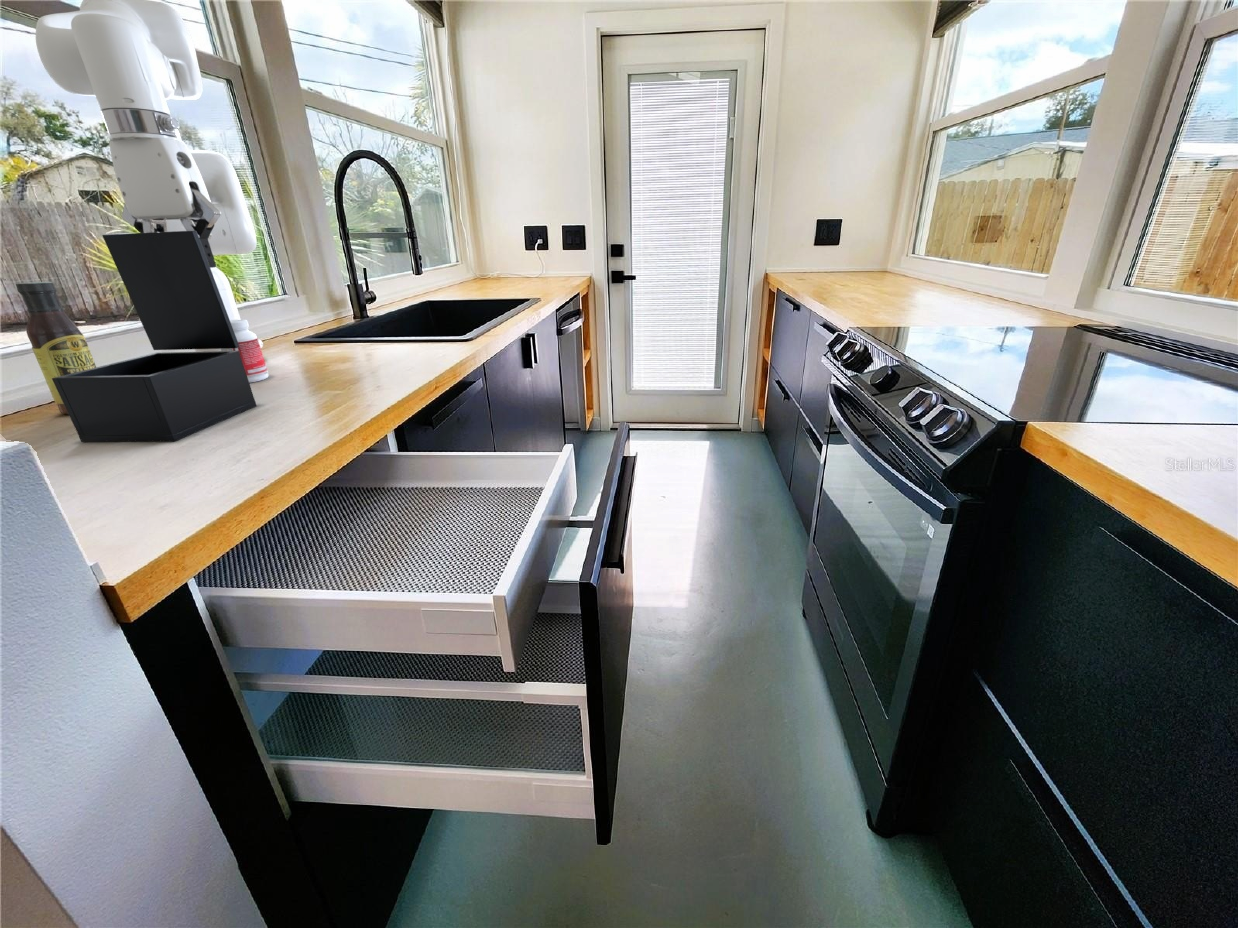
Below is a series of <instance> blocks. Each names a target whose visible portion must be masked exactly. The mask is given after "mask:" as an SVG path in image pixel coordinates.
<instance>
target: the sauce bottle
mask: <svg viewBox="0 0 1238 928" xmlns="http://www.w3.org/2000/svg"><path fill="white" fill-rule="evenodd" d="M15 287H16V290H17V292H18V293H19V294H20V295H21V296H22V299H23V302H24V303H25V306H26V308H27V309H26V311H27V313H28V315H29V318H28V320H27V322H26V335H27V338H28V340H29V342H30V344H31V350H32V352H33V354H34V356H35V359H36V361H37V363H38V366H39V368H40V370H41V372H42V375H43V378H44V380H45V382H46V385H47V386H48V389H49V391H50V394H51V396H52V398H53V401H54V403H55V404H56V405H57V407H58V410H59V412H60V413H61V414H64V415H69V414H68V412H67V410H66V408H65V406H64V403H63V401H62V399H61V397H60V395H59V393H58V391H57V389H56V387H55V384H54V382H53V380H52V378H55V377H59V376H63V375H67V374H71V373H75V372H80V371H84V370H88V369H92V368H96V367H97V366H96V363H95V360H94V358H93V355H92V353H91V350H90V347H89V344H88V342H87V340H86V337H85V335H84V334H83V333H82V332H81V330H80V329H79V328H78V327H77V325H76V323H75V322H74V321H73V320H72V319H70V318H69V316H68V315H67V314H66V313H65V311H64V308H63V306H62V305H61V302H60V300H59V298H58V295H57V288H56V286H55V284H54V282H52V281H32V282H17V283H15Z"/></svg>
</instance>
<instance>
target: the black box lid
mask: <svg viewBox="0 0 1238 928" xmlns="http://www.w3.org/2000/svg"><path fill="white" fill-rule="evenodd" d="M102 238H103V241H104V243H105V245H106V247H107V249H108V251H109V254H110V257H111V258H112V260H113V263H114V265H115V267H116V269H117V272H118V274H119V276H120V278H121V280H122V283H123V285H124V287H125V289H126V292H127V294H128V296H129V298H130V300H131V302H132V305H133V308H134V309H135V312H136V314H137V316H138V318H139V321H140V323H141V325H142V327H143V329H144V332H145V334H146V336H147V339H148V341H149V343H150V345H151V347H152V349H153V351H175V350H176V351H178V350H180V351H181V350H195V349H230V348H239V347H240V346H239V344H238V341H237V338H236V336H235V333H234V330H233V328H232V325H231V322H230V320H229V317H228V314H227V312H226V309H225V306H224V303H223V301H222V298H221V295H220V293H219V290H218V287H217V285H216V282H215V279H214V277H213V274H212V271H211V269H210V266H209V263H208V261H207V258H206V255H205V253H204V250H203V247H202V245H201V242H200V239H199V236H198V234H197V231H172V232H149V233H140V232H129V233H106V234H102Z"/></svg>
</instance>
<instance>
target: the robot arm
mask: <svg viewBox="0 0 1238 928" xmlns="http://www.w3.org/2000/svg"><path fill="white" fill-rule="evenodd" d="M35 44H36V45H35V46H36V49H37V53H38V55H39V58H40V61H41V64H42V66H43V68H44V69H45V71H46V72H47V73H46V74H48V76H49V77H50V78H51V80H53V82H54V83H55V84H56V85H57V86H58V87H60V88H61V89H62V90H64V91H65V92H68V93H70V94H72V95H73V94H74V95H79V96H86V97H87V96H89V97H95V99H96V102H97V105H98V107H99V110H100V113H101V115H102V118H103V122H104V124H105V127H106V130H107V132H108V136H109V138H110V140H109V141H108V143H109V144H108V145H109V152H110V156H111V157H110V158H111V161H112V165H113V166H112V167H113V169H114V174H115V177H116V181H117V185H118V188H119V190H120V194H121V197H122V199H123V202H124V205H123V209H122V213H121V219H122V220H123V221H124V222H126V223H128V224H129V225H131V227H134V228H135V229H136V230H137V231H138V233H149V232H172V231H197V234H198V236H199V239H200V242H201V245H202V247H203V250H204V253H205V255H206V258H207V261H208V263H209V266H210V269H211V271H212V274H213V277H214V279H215V282H216V285H217V287H218V290H219V293H220V295H221V298H222V301H223V303H224V306H225V309H226V312H227V314H228V317H229V320H240V319H241V315H240V311H239V310H238V306H237V303H236V300H235V297H234V294H233V293H234V292H233V291H232V287H231V284H230V282H229V281H230V280H229V279H228V278H227V276H226V275H225V273H224V272H223V271H221V269H219V268H218V267H217V264H216V260H215V257H214V256H228V255H229V256H230V255H232V256H233V255H243V254H244V255H245V254H246V255H247V254H250V253H252V252H254V251H255V250H256V249H257V247H258V246H257V245H258V240H257V234H256V231H255V226H254V223H253V220H252V218H251V214H250V211H249V207H248V205H247V202H246V199H245V196H244V193H243V190H242V187H241V184H240V181H239V178H238V176H237V175H238V174H237V173H236V170H235V168H234V167H233V165H232V163H231V161H230V160H229V159H228V158H227V156H225V155H223V154H222V153H220V152H217V151H212V150H200V149H199V150H198V149H189V147H188V145H187V144H186V142H185V141H183V140H182V139H181V135H180V131H179V129H180V123H179V121H178V120H177V119H176V118H175V117H172V115H171V112H170V108H169V107H168V103H167V100H170V99H172V100H186V101H187V100H189V101H190V100H192V101H193V100H197V99H200V98H201V96H202V95H203V90H204V84H203V78H202V75H201V74H202V73H201V70H200V66H199V61H198V55H197V52H196V48H195V44H194V41H193V37H192V34H191V32H190V30H189V28H188V26H187V24H186V22H185V21H184V19H183V18H182V16H181V15H180V14H179V13H178V11H176V9H174V8H173V7H172V6H171V5H168V4H166V3H164V2H161V1H155V0H82V1H81V4H80V6H79V10H75V11H68V12H58V13H50V14H46V15H43V16H41V17H39V18H38V19H37V22H36V24H35ZM258 342H259V345H260V348H261V349H262V348H263V347H264V342H263V341H262V340H261V339H258ZM208 351H221V349H194V352H208Z"/></svg>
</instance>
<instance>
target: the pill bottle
mask: <svg viewBox="0 0 1238 928" xmlns="http://www.w3.org/2000/svg"><path fill="white" fill-rule="evenodd" d="M230 322H231V325H232V328H233V330H234V333H235V336H236V338H237V341H238V344H239V346H240V347H239V348H230V349H221V351H239V352H240V356H241V359H242V362H243V365H244V368H245V371H246V374H247V377H248V380H249V384H250V383H255V382H261V381H264V380H266V379H268V378H269V375H270V374H269V371H268V367H267V365H266V361H265V358H264V355H263V352H262V348H260V345H259V342H258V340H259V339H258V336H257V334H256V333H255V332H253V331H251V330H250V329H249V328H250V325H249V321H248V319H247V318H246V319H245V318H244V319H243V318H240V320H230Z"/></svg>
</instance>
